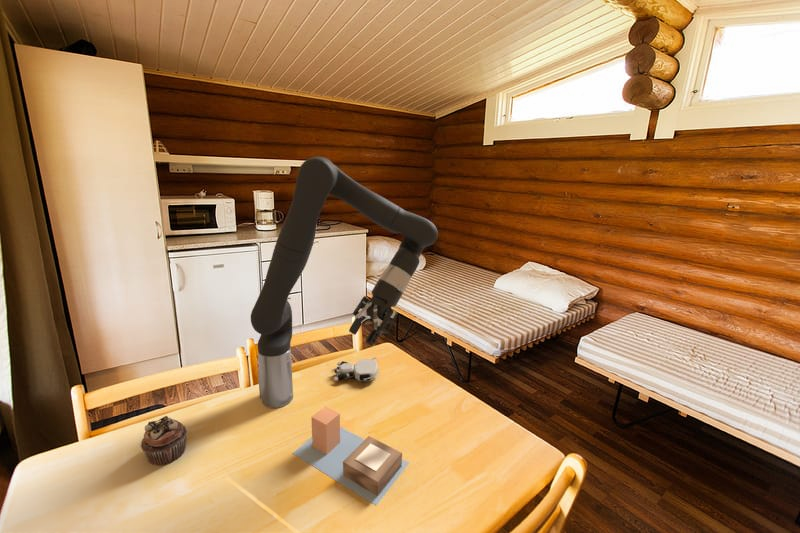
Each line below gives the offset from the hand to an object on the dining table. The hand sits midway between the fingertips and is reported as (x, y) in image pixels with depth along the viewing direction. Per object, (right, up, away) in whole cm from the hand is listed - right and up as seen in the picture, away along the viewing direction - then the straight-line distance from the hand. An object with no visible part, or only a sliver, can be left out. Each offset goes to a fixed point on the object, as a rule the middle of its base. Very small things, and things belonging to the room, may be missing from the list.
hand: (359, 338), depth 94 cm
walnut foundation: (+4, -30, -7) cm, 31 cm away
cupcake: (-48, -28, -4) cm, 56 cm away
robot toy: (-5, -20, +32) cm, 38 cm away
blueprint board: (-2, -30, -4) cm, 30 cm away
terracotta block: (-9, -28, 0) cm, 29 cm away
